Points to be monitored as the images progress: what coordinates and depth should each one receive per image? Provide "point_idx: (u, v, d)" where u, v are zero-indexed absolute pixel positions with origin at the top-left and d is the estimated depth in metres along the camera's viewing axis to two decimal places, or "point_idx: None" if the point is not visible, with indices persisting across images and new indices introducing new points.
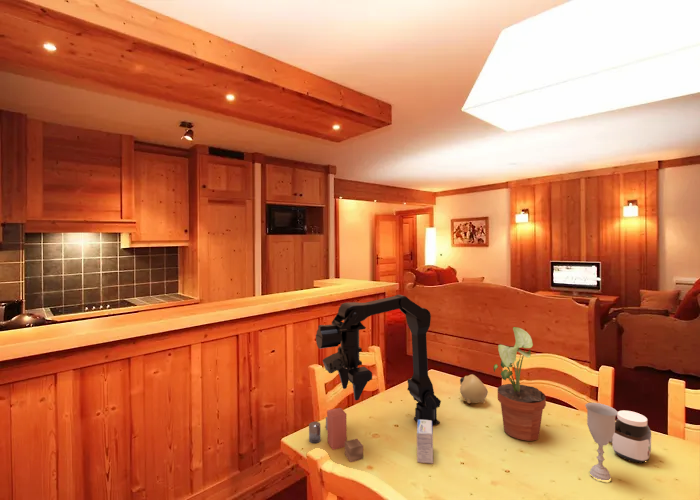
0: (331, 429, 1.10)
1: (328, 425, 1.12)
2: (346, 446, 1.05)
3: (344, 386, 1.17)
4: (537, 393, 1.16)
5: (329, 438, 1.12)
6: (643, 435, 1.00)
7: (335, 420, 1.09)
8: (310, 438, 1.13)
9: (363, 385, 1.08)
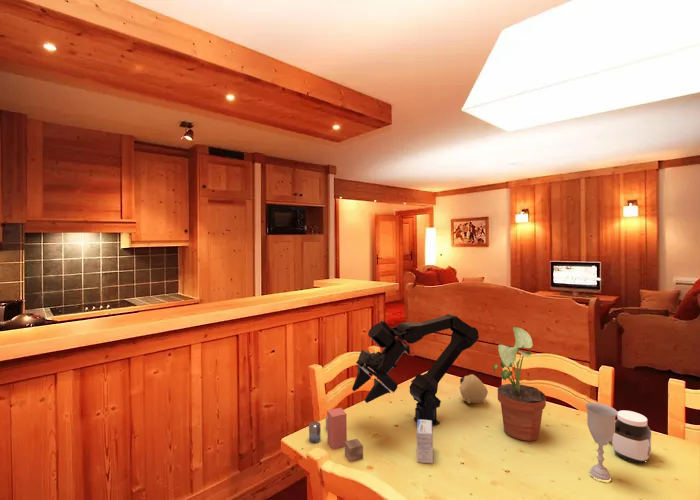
0: (331, 429, 1.10)
1: (328, 425, 1.12)
2: (346, 446, 1.05)
3: (354, 388, 1.19)
4: (537, 393, 1.16)
5: (329, 438, 1.12)
6: (643, 435, 1.00)
7: (335, 420, 1.09)
8: (310, 438, 1.13)
9: (380, 393, 1.11)
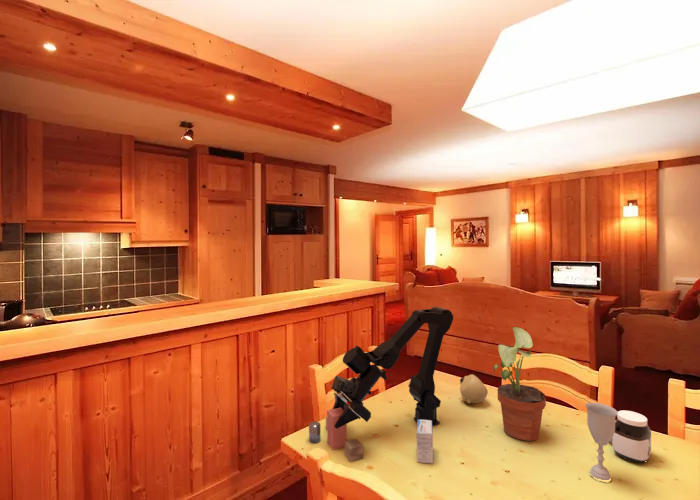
0: (331, 429, 1.10)
1: (328, 425, 1.12)
2: (346, 446, 1.05)
3: None
4: (537, 393, 1.16)
5: (329, 438, 1.12)
6: (643, 435, 1.00)
7: (335, 420, 1.09)
8: (310, 438, 1.13)
9: (350, 419, 1.09)
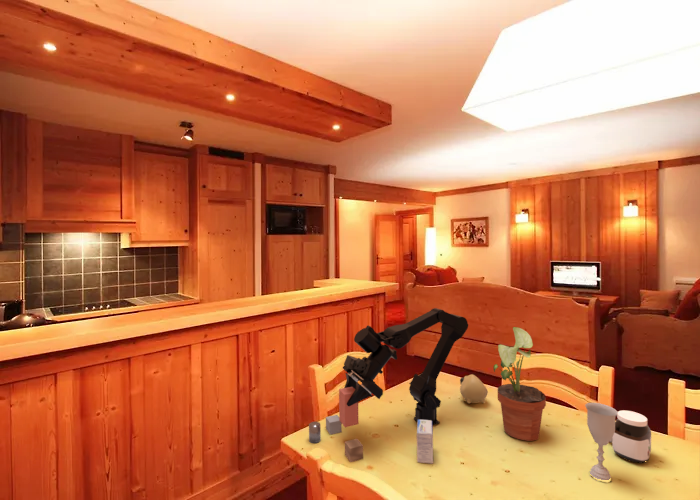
0: (343, 407, 1.11)
1: (340, 403, 1.13)
2: (346, 446, 1.05)
3: None
4: (537, 393, 1.16)
5: (341, 416, 1.13)
6: (643, 435, 1.00)
7: (347, 398, 1.11)
8: (310, 438, 1.13)
9: (362, 397, 1.11)
